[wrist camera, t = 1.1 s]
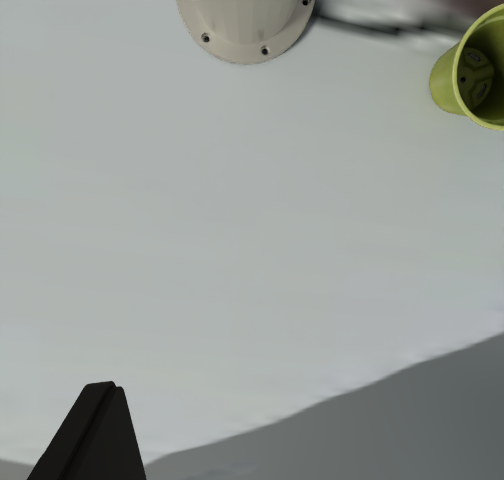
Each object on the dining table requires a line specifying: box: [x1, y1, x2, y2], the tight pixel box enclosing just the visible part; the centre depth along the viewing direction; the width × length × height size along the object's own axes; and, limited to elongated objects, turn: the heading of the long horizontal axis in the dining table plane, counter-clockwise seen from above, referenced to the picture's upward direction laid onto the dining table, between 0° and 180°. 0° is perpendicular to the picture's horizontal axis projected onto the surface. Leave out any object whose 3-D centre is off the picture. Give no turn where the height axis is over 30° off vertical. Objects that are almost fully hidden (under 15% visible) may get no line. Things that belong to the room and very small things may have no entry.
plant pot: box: [429, 4, 504, 131], centre depth 36 cm, size 9×9×9 cm
